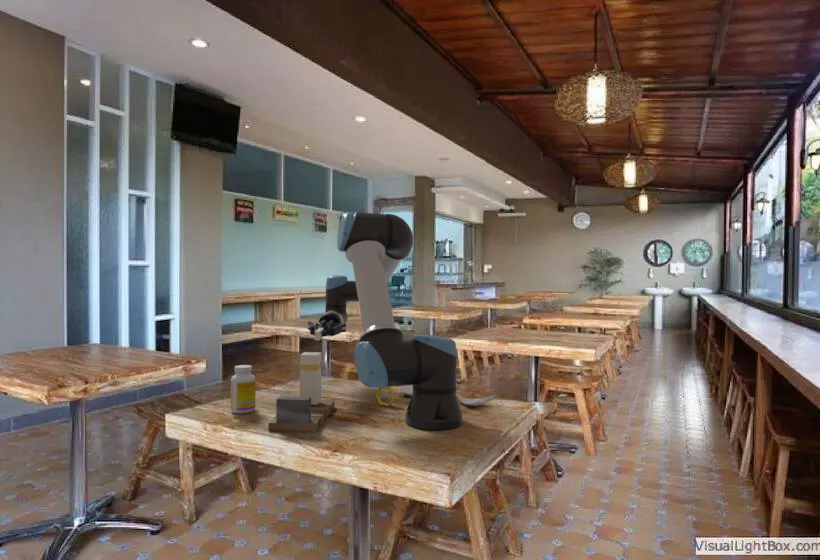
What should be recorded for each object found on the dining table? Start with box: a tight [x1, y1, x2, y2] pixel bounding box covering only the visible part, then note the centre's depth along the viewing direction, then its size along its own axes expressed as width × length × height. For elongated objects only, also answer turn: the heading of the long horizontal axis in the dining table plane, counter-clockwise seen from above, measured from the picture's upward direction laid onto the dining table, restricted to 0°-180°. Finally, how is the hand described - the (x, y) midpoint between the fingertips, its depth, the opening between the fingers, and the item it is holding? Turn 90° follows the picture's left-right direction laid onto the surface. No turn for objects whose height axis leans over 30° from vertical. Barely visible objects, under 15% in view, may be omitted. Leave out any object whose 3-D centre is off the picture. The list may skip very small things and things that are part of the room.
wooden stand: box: [267, 395, 336, 433], centre depth 142 cm, size 24×12×8 cm, turn 177°
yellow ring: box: [375, 387, 396, 407], centre depth 157 cm, size 6×3×6 cm, turn 58°
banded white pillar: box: [298, 351, 323, 405], centre depth 149 cm, size 5×5×14 cm
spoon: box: [398, 385, 496, 407], centre depth 163 cm, size 9×32×4 cm, turn 54°
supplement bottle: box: [230, 364, 256, 415], centre depth 148 cm, size 7×7×13 cm
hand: (317, 335), depth 155 cm, fingers closed
